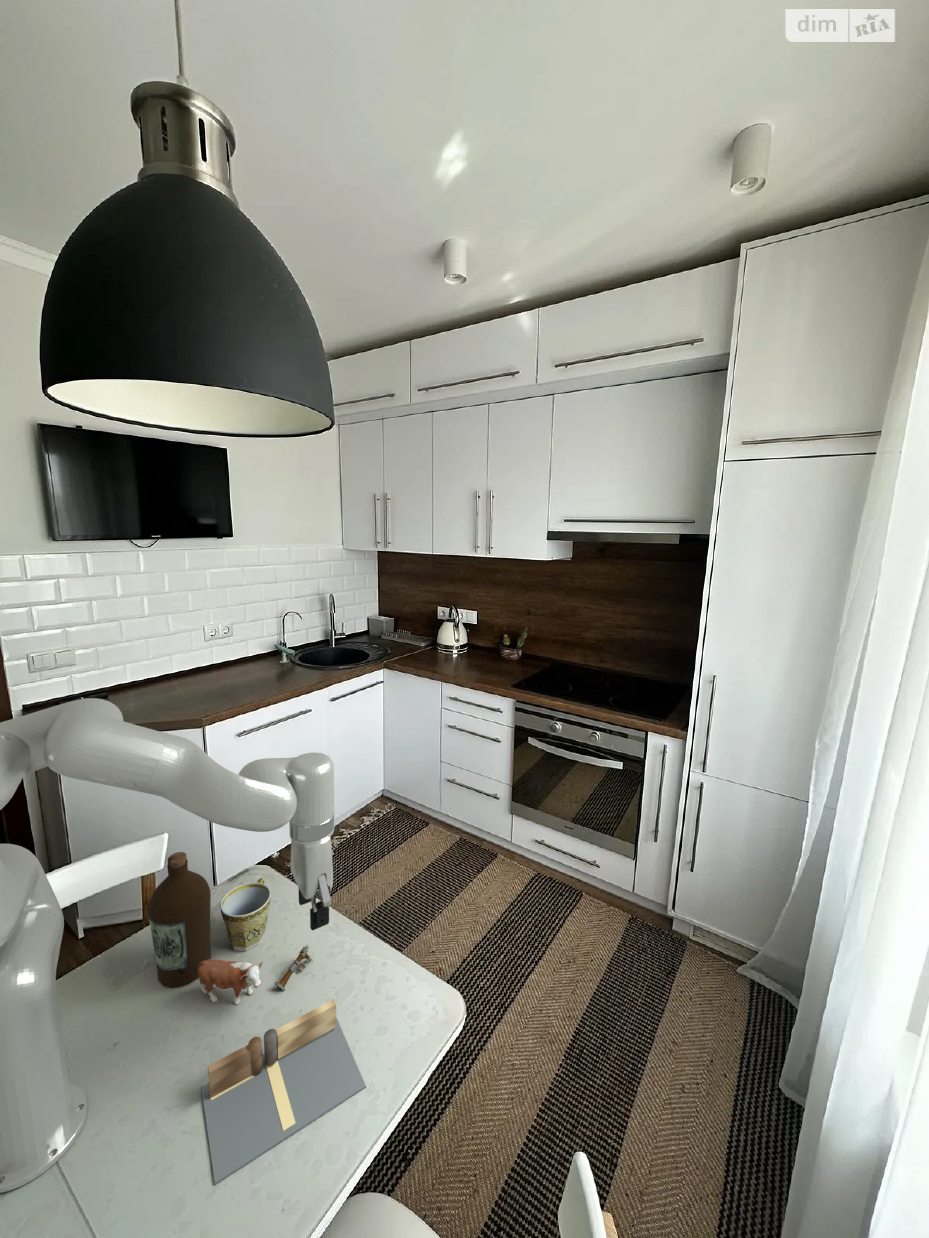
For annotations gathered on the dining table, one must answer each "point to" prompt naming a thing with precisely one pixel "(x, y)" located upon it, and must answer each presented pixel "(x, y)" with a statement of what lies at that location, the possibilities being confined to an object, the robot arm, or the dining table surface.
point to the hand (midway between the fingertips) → (313, 912)
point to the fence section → (236, 1067)
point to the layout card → (279, 1101)
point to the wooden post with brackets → (294, 966)
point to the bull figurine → (228, 977)
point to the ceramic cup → (246, 914)
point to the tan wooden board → (299, 1032)
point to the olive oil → (180, 923)
